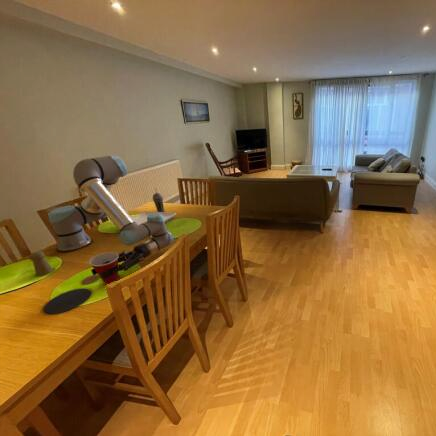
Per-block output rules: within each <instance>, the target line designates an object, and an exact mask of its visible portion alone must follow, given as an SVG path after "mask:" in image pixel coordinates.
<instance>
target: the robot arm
mask: <svg viewBox="0 0 436 436" xmlns="http://www.w3.org/2000/svg"><path fill="white" fill-rule="evenodd" d="M75 164H76V165H75V166H74V168H73V170H72V171H73V172H72V175H73V180H74V182H75V184H76V186H77V187H78V189H79V190H80V191H81V192H85V193H86V194H87V196H86V198H84V199H82V200H81V203H80V204H79V205H76V206H74V205H70V204H69V205H64V206H59V207H57V208H54V209H52V210H51V211H49V213H47V214H48V220H49V222H50V224H51V226H52V228H53V230H54V233H55V235H56V238H57V239H56V246H57V250H58V251H59V252H72V251H76V250H80V249H82V248H85V247H87V246H89V245H90V244H91V243H92V239H91V237H90V236H89V235H88V234H87V233H86V232H85V231H84V229H83V227H82V226H85V225H87V224H91V223H94V222H96V221H100V220H103V219H104V218H106V217H107V218H108V219H109V220H110V221H111V222H112V224H113V225H114V226H115V227H116V228H117V229H118V230H119V231H120V232H119V235H118V237H119V240H120V242H121V243H122V244H123V245H125V246H128V247H129V246H132V245H134V244H136V245H135V246H133V249H132V250H130V251H127V250H122V251H121V252H120V253H117V254H118V255H119V257H118V266H115V267H113V268H111V269H109V270H107V271H105V272H103V273H101V274H102V277H103V279H105V278H107V277H109V276H111V275H113V274H115V273H117V272H118V271H119V272H121V271H124V272H127V271H128V270H130V269H131V268H133V267H135V266H136V265H138V264H139V263H141V262H142V263H143V262H144V261H145V259H146V258H148V257H150V256H152V255H154V254H155V253H157V252H159V251H161V250H162V249H165V248H167V247H168V246H170V245H171V244H173V243H174V241H175V238H174V236H173V233H172V232H171V231H168V230H167V226H166V222H165V221H164V218H163V215H162V214H158V213H156V214H151V215H149V216H148V217H147V222H144V223H142V224H140V225H138V224H137V223H136V222H135V221H134V220H133V219H132V217H131V215H130V214H129V212H127V210H126V209H125V208H124V207H123V206H122V205H121V204H120V203H119V201H118V200H117V199H116V198H115V196H114V195H113V194H112V193H111V192H110V191H111V189H112V187H113V185H116V184H117V183H118V182H119V179H120V178H123V177H125V176H127V174H128V168H127V166H126V164H125V161H124V160H123V159H122V158H120V157H119V156H118V155H106V156H99V157H93V158H84V159H82V160H79V161H77V163H75ZM149 237H152V238H150V239H148V240H147V238H149ZM145 239H146V240H145ZM143 240H145V241H143ZM141 241H143V242H141ZM140 242H141V243H140ZM138 243H139V244H138ZM109 262H110V261H107V262H106V263H104V264H107V263H109ZM102 265H103V264H102ZM90 271H91V274H92V276H94V275H96V276H97V275H98V274H97V272H96V271H95V269H94V268H91V269H90ZM119 272H118V273H119Z"/></svg>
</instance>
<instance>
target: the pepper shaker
mask: <svg viewBox="0 0 436 436" xmlns="http://www.w3.org/2000/svg"><path fill="white" fill-rule="evenodd" d="M45 256H46V255H45V252H43V251H35V252H32V253H31V254H29V255H28V259H29V260H30V261H31V262H32V264H33V268H34V271H35V275H36V276H37V277H43V276H46V275H49V274H51V273H52V272H53V271H54V268H53V267H52V266H51V264H50V263H49V262H48V260H47V259H46V258H45Z"/></svg>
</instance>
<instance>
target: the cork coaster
mask: <svg viewBox="0 0 436 436" xmlns="http://www.w3.org/2000/svg"><path fill="white" fill-rule="evenodd" d="M98 279H99V275H97V274H96V275H90V276H87V277H85V278H84V279H82V281H81V283H82V284H83V285H88V284H91V283H94V282H96V281H97V280H98Z"/></svg>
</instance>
